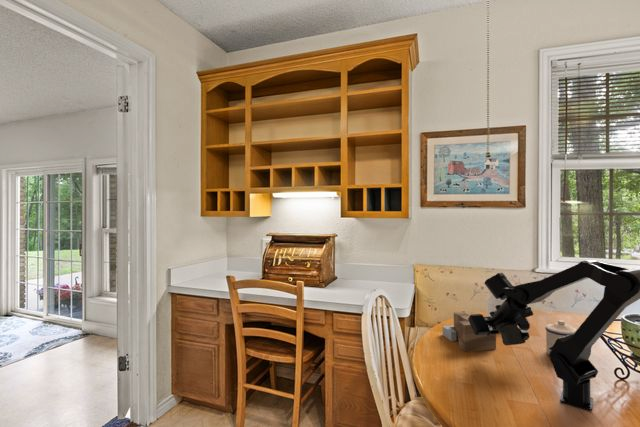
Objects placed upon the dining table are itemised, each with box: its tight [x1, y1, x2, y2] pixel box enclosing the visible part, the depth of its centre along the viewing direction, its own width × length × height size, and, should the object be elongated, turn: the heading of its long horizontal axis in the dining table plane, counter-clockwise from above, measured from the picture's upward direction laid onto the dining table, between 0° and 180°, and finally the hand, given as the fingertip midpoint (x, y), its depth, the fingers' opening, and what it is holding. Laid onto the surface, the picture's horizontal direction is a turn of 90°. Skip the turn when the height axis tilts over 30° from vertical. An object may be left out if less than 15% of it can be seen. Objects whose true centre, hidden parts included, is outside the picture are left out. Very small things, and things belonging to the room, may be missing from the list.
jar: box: [486, 292, 519, 327], centre depth 145 cm, size 12×10×15 cm
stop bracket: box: [442, 324, 457, 342], centre depth 133 cm, size 6×11×4 cm, turn 99°
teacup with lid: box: [545, 319, 577, 355], centre depth 116 cm, size 12×9×12 cm
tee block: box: [453, 311, 497, 353], centre depth 127 cm, size 14×12×10 cm
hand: (487, 334), depth 116 cm, fingers closed
